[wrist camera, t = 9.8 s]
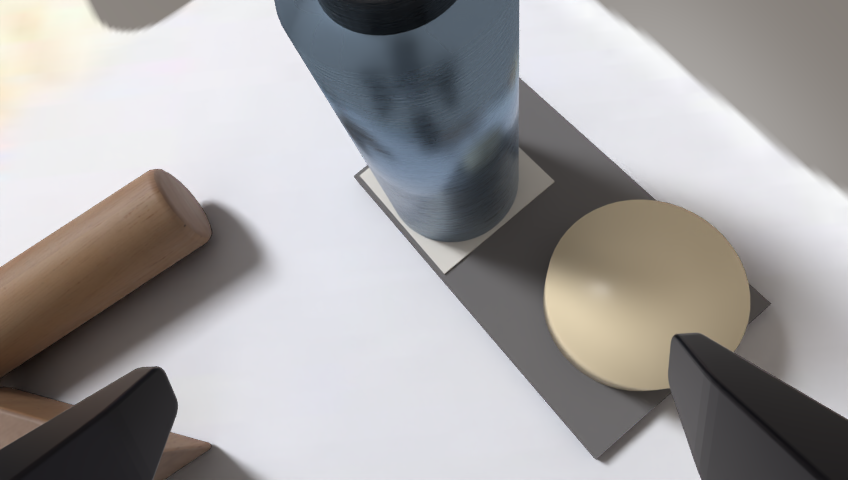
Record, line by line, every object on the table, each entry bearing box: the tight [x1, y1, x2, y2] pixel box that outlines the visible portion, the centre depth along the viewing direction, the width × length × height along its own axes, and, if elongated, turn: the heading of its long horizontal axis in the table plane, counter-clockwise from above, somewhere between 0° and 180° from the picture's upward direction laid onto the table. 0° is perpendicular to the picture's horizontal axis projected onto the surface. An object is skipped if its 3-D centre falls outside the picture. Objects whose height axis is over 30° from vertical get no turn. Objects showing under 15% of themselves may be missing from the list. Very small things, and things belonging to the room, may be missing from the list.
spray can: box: [274, 0, 519, 242], centre depth 15 cm, size 5×5×13 cm
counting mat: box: [354, 78, 771, 459], centre depth 20 cm, size 14×8×1 cm, turn 39°
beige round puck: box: [543, 199, 750, 391], centre depth 18 cm, size 6×6×2 cm
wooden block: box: [0, 169, 212, 480], centre depth 20 cm, size 4×11×18 cm
